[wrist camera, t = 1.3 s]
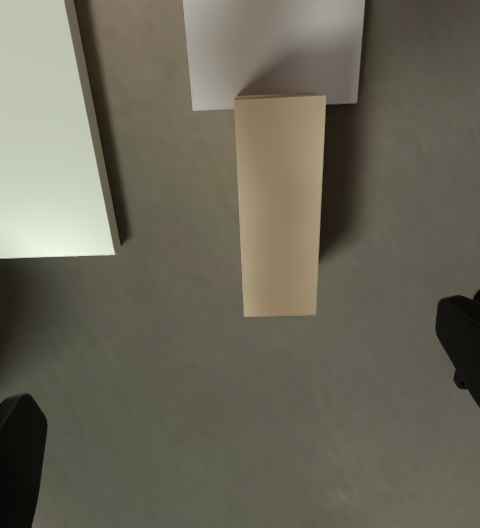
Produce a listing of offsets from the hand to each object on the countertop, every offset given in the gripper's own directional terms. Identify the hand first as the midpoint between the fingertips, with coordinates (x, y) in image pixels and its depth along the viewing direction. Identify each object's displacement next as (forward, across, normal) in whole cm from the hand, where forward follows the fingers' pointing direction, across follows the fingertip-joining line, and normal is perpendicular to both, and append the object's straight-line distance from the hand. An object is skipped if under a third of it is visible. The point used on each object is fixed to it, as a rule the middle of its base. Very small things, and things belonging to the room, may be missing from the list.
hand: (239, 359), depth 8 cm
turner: (+12, -4, -3) cm, 13 cm away
